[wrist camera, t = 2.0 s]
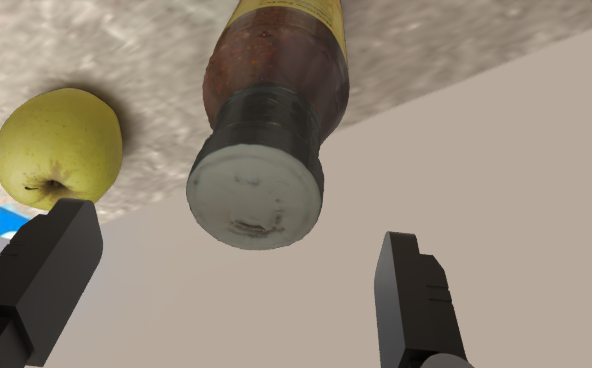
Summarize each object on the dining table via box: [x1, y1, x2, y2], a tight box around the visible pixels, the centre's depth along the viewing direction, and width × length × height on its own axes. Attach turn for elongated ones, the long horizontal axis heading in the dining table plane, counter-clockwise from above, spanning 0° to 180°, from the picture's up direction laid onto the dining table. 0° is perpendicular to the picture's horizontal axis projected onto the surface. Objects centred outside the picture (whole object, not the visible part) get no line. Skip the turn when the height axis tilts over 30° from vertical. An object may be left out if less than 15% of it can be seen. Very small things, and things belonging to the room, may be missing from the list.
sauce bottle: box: [186, 0, 349, 250], centre depth 22 cm, size 7×6×20 cm
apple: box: [0, 88, 122, 211], centre depth 32 cm, size 8×8×10 cm
